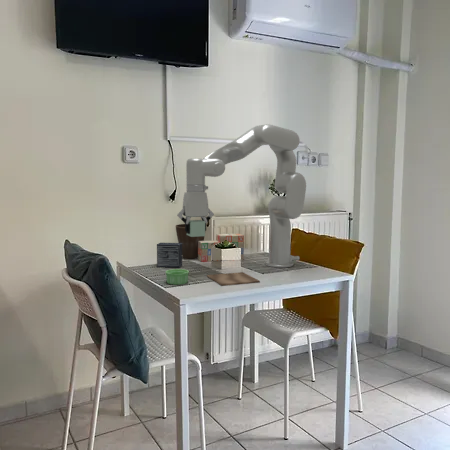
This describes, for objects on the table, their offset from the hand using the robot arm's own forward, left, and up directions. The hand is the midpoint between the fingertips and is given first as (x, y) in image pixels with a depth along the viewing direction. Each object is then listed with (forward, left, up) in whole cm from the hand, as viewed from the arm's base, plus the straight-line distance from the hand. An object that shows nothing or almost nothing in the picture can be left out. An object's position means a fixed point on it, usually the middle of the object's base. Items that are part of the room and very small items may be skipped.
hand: (195, 232), depth 187 cm
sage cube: (0, 0, -1) cm, 1 cm away
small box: (+6, -18, -18) cm, 26 cm away
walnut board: (-11, +14, -17) cm, 25 cm away
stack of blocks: (-21, -25, -18) cm, 37 cm away
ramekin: (+11, +11, -18) cm, 24 cm away
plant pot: (-9, -34, -18) cm, 39 cm away
